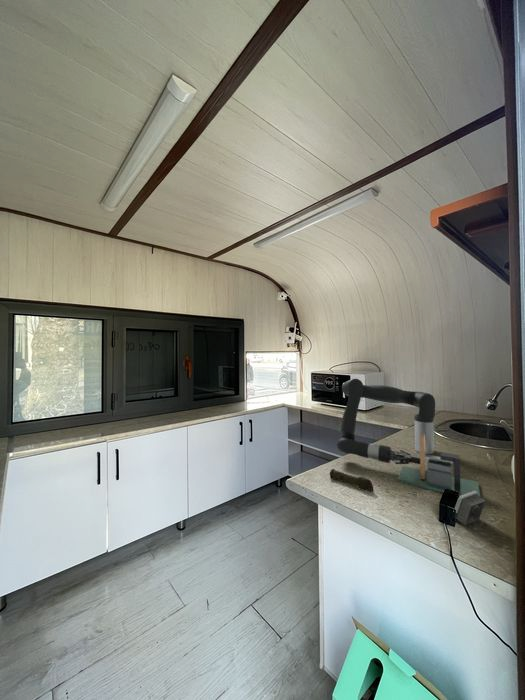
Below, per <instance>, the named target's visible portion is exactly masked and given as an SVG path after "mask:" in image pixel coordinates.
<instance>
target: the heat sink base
mask: <svg viewBox="0 0 525 700" xmlns="http://www.w3.org/2000/svg"><path fill="white" fill-rule="evenodd" d="M439 457H440V458H441V460H446V461H452V462H453V474H452V464H450V463H445V462H439V461H434V460H429V459H427V468H426V476H425V479H421V473H420V469H419V468H413V467H408V466H405V465H403V467H402V469H401V471H400V473H399V476H398V477H397V482H398V483H401V484H406V485H410V486H414V487H418V488H422V489H426V490H430V491H434V492H438V493H442V494H444V493H443V491H444V490H445V489H449V490H453V491H457V492H458V493H459V495H460V496H461V495H464V494H467V493H469V492H472V491H476V492H478V496H480V497H481V493H480V487H479V482H478V481H475V480H470V479H466V478H461V459H460V458H461V455H460V454H456V453H455V454H454V453H449V452H444V451H441V452H440V456H439Z"/></svg>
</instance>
